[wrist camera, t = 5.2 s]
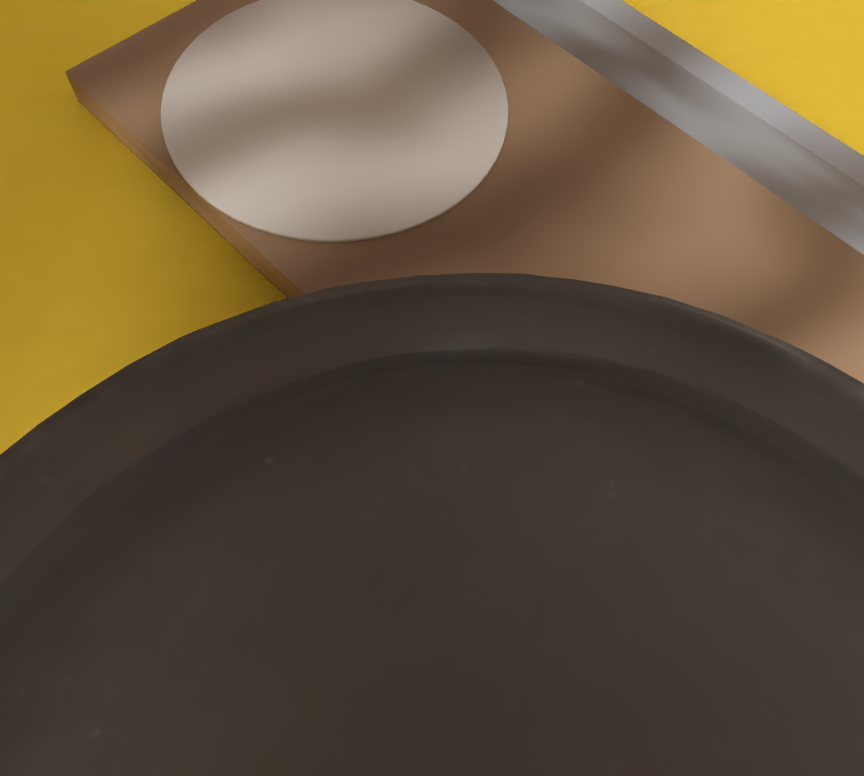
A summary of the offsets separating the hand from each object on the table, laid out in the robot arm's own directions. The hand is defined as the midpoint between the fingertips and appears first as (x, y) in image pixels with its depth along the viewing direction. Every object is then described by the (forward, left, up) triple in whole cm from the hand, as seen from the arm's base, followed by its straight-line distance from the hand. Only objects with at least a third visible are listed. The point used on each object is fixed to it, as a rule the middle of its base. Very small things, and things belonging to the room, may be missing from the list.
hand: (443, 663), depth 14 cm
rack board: (-9, +12, -6) cm, 16 cm away
